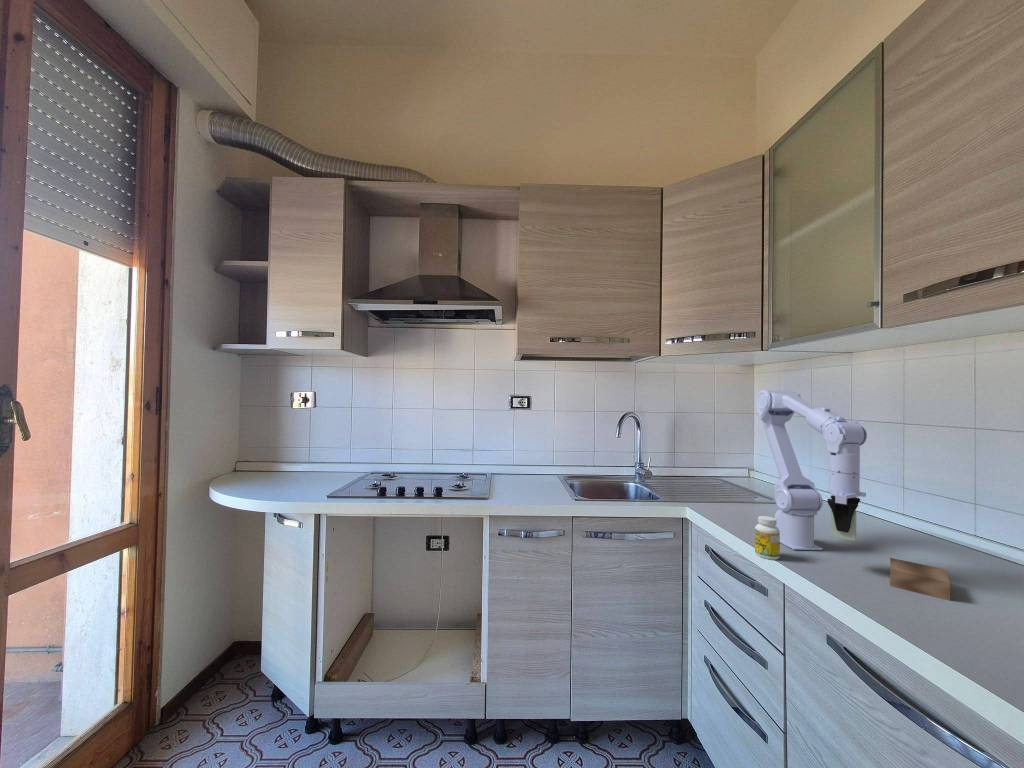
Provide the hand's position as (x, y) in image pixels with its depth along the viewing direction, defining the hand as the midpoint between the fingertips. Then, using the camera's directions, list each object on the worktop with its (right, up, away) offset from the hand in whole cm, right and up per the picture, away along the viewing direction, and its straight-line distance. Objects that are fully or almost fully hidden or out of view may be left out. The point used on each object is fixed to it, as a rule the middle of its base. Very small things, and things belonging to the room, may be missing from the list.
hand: (843, 529), depth 99 cm
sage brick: (0, -2, 0) cm, 2 cm away
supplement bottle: (-14, -9, +6) cm, 18 cm away
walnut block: (+9, -10, -9) cm, 16 cm away
